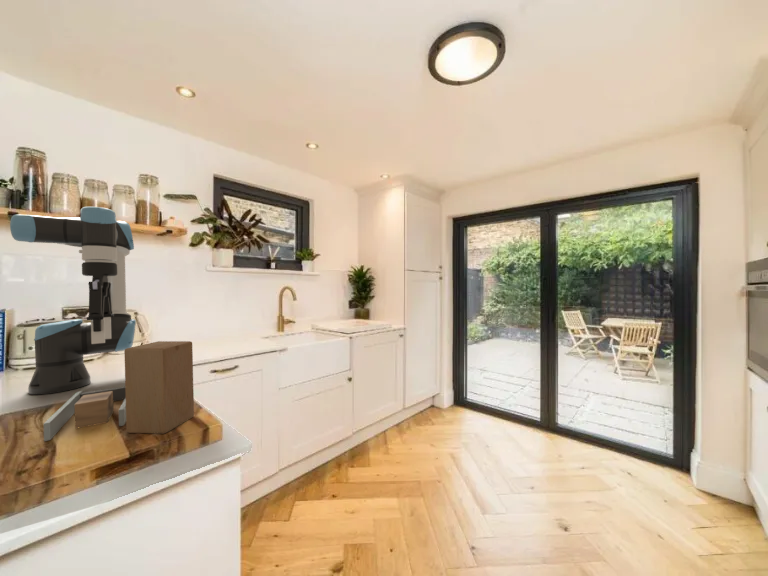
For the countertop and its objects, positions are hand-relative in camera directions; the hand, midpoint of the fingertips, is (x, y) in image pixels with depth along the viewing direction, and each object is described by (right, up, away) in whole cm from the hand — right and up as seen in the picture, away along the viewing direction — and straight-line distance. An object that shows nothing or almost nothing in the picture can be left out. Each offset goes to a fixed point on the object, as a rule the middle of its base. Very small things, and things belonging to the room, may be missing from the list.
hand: (101, 340), depth 90 cm
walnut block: (+6, -19, -8) cm, 22 cm away
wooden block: (+26, -19, -12) cm, 34 cm away
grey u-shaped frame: (+4, -19, -5) cm, 20 cm away
